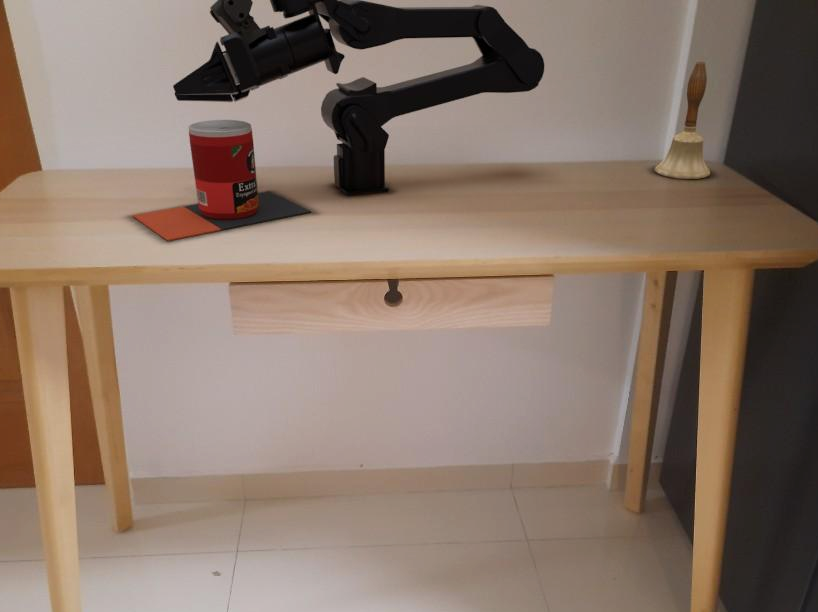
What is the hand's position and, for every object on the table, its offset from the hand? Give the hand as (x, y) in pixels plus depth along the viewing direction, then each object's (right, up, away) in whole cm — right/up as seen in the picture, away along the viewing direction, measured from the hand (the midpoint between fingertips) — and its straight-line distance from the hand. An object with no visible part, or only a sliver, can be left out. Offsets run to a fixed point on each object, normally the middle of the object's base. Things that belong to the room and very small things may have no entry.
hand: (175, 93), depth 99 cm
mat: (+8, -14, +5) cm, 17 cm away
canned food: (+6, -14, +4) cm, 16 cm away
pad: (0, -17, 0) cm, 17 cm away
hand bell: (+73, -4, +22) cm, 77 cm away
